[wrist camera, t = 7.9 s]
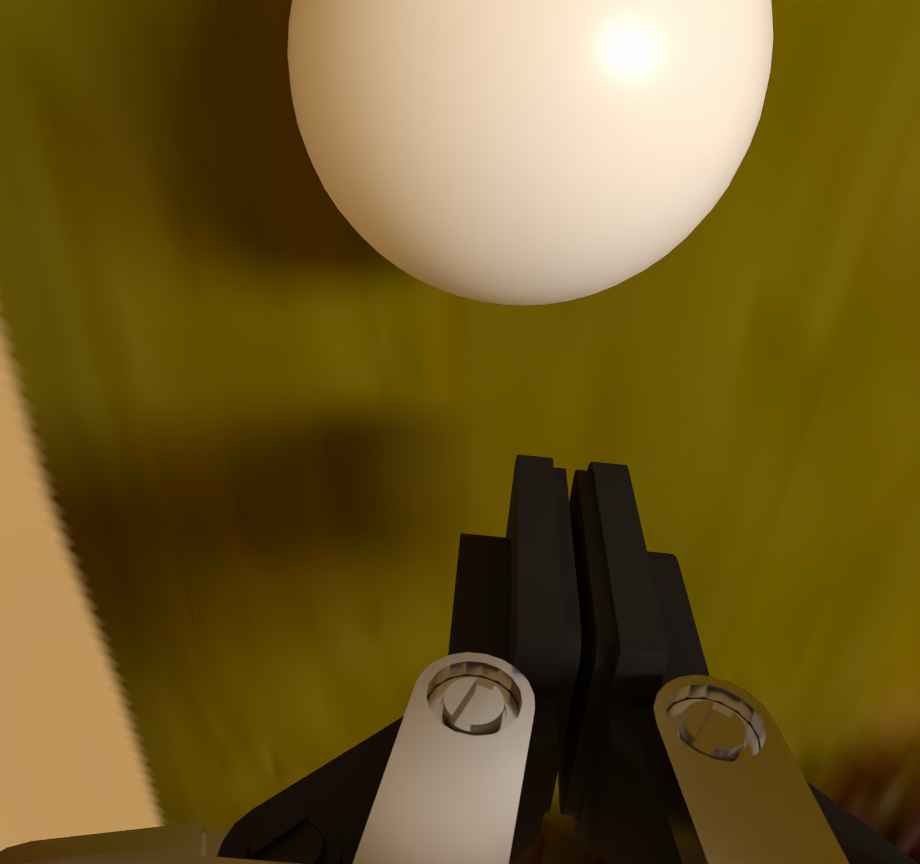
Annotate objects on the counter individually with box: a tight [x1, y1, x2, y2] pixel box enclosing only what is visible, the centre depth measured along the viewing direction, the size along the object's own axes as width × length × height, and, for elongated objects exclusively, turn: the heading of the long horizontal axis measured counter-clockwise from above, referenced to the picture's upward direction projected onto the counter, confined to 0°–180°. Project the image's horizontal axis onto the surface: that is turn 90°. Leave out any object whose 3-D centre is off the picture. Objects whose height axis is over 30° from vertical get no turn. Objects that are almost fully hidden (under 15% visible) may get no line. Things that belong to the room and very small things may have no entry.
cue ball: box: [287, 0, 773, 306], centre depth 10 cm, size 6×6×6 cm
